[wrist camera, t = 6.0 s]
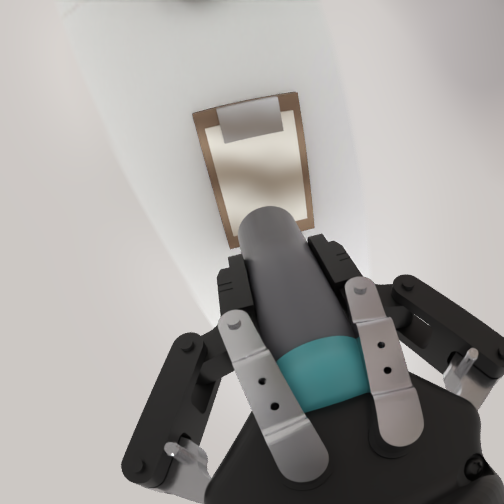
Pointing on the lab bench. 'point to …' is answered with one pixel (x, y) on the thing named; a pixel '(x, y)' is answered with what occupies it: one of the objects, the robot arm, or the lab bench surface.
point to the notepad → (256, 159)
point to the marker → (299, 312)
